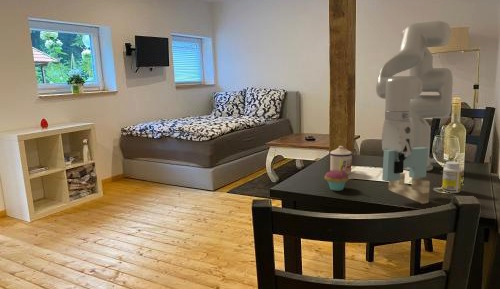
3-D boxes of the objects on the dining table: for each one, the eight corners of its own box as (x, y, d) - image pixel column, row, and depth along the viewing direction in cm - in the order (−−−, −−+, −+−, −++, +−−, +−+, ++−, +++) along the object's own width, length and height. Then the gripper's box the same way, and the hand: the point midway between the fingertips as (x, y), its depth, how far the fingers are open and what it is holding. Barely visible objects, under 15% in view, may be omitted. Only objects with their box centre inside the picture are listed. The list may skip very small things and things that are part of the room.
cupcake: (344, 185, 140) (345, 154, 138) (351, 191, 132) (352, 159, 130) (322, 186, 140) (322, 155, 138) (327, 192, 132) (327, 160, 129)
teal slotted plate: (420, 175, 128) (422, 146, 126) (426, 177, 125) (428, 148, 124) (382, 179, 122) (383, 150, 121) (387, 181, 120) (388, 151, 118)
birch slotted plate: (388, 189, 133) (389, 171, 131) (394, 189, 133) (394, 170, 132) (422, 203, 118) (423, 182, 116) (428, 202, 118) (429, 181, 117)
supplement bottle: (453, 188, 132) (455, 160, 130) (463, 193, 127) (465, 163, 125) (438, 189, 132) (440, 161, 130) (448, 194, 126) (450, 164, 124)
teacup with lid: (343, 177, 151) (343, 149, 149) (325, 173, 158) (325, 146, 156) (360, 171, 159) (360, 144, 157) (342, 168, 166) (342, 142, 164)
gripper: (425, 117, 113) (422, 176, 116) (389, 113, 128) (388, 165, 131) (405, 119, 110) (403, 179, 113) (371, 115, 125) (370, 167, 128)
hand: (395, 171), depth 122 cm, fingers closed on teal slotted plate, 2 cm apart
